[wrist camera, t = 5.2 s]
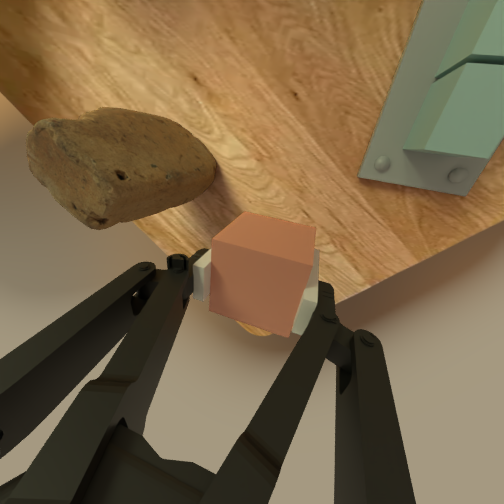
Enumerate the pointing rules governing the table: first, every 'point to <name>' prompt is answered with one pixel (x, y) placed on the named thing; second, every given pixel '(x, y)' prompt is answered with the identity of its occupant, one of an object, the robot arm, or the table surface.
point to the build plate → (408, 106)
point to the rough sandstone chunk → (118, 164)
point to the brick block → (261, 271)
